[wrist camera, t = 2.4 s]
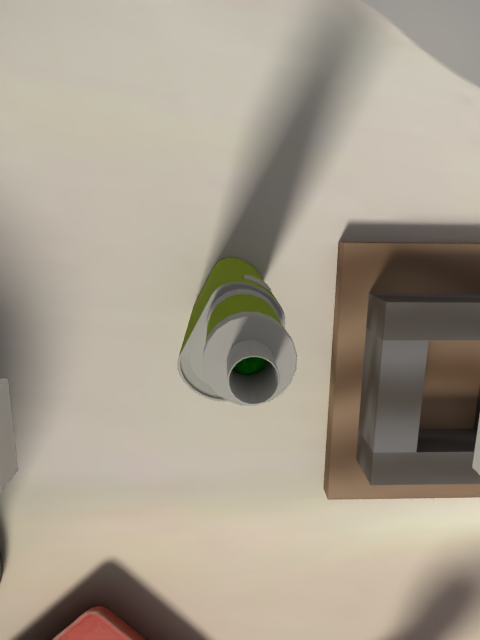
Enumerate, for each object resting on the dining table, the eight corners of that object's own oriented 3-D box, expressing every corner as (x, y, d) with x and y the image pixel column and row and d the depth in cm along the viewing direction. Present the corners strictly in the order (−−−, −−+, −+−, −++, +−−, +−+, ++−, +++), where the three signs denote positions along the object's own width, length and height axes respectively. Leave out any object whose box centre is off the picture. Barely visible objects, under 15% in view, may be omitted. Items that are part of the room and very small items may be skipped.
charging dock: (512, 485, 38) (556, 525, 33) (323, 488, 37) (339, 529, 32) (552, 244, 33) (609, 248, 29) (338, 241, 33) (359, 246, 28)
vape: (269, 271, 33) (340, 351, 14) (230, 341, 34) (244, 509, 15) (224, 247, 32) (230, 293, 13) (186, 319, 34) (139, 462, 14)
